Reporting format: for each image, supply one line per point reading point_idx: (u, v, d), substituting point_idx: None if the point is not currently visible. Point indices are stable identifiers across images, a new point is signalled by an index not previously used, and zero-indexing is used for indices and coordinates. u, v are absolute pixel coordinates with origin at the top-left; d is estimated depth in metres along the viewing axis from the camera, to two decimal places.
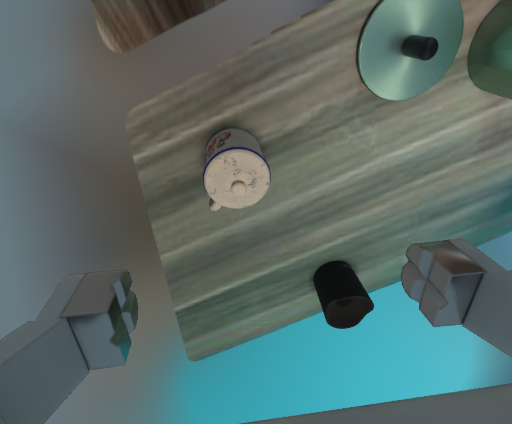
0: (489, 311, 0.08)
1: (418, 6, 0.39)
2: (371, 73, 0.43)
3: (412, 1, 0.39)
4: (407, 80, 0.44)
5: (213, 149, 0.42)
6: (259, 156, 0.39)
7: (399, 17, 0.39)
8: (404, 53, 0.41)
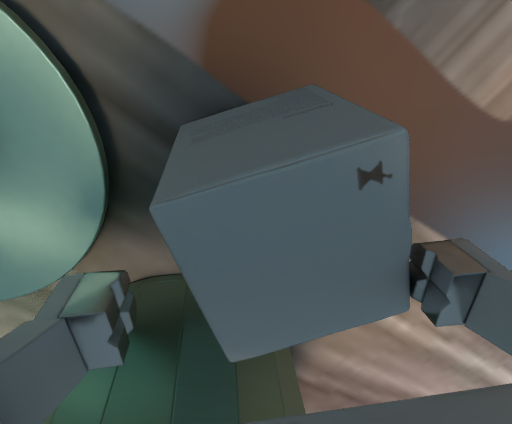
0: (491, 311, 0.08)
1: None
2: None
3: None
4: None
5: None
6: None
7: None
8: None
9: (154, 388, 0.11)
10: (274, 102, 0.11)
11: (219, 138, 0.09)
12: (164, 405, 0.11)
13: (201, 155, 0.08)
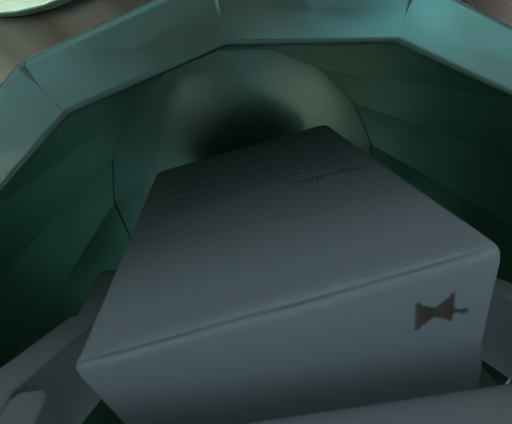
0: None
1: None
2: None
3: None
4: None
5: None
6: None
7: None
8: None
9: None
10: (276, 151, 0.09)
11: (202, 210, 0.07)
12: None
13: (173, 244, 0.06)
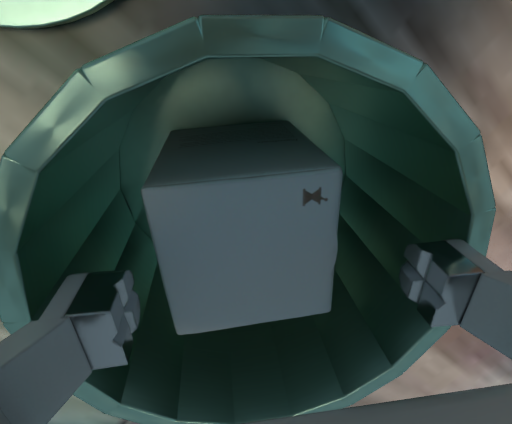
0: (486, 311, 0.08)
1: None
2: None
3: None
4: None
5: None
6: None
7: None
8: None
9: None
10: (253, 128, 0.14)
11: (204, 147, 0.11)
12: None
13: (187, 157, 0.10)
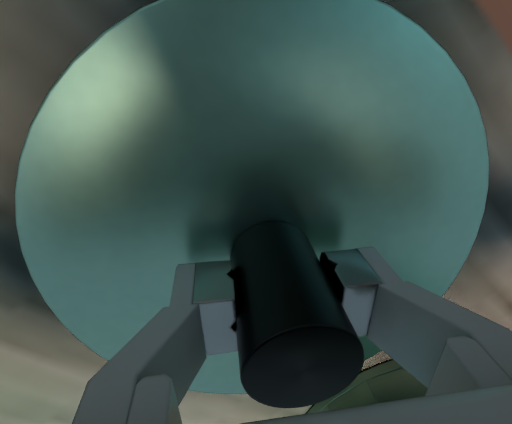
0: (386, 323, 0.07)
1: (395, 175, 0.09)
2: (67, 192, 0.08)
3: (402, 137, 0.08)
4: None
5: None
6: None
7: (329, 132, 0.08)
8: (233, 257, 0.09)
9: None
10: None
11: None
12: None
13: None
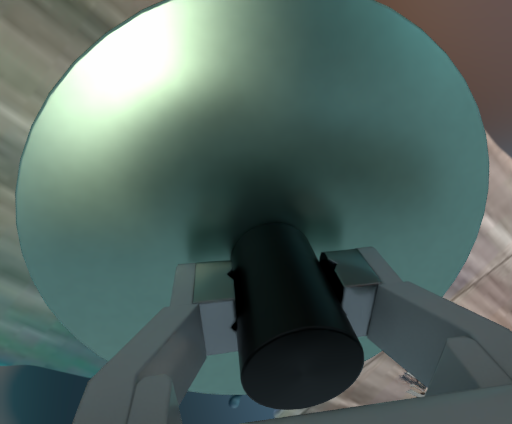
0: (386, 323, 0.07)
1: (395, 177, 0.09)
2: (68, 194, 0.08)
3: (402, 138, 0.08)
4: None
5: None
6: None
7: (329, 134, 0.08)
8: (233, 258, 0.09)
9: None
10: None
11: None
12: None
13: None
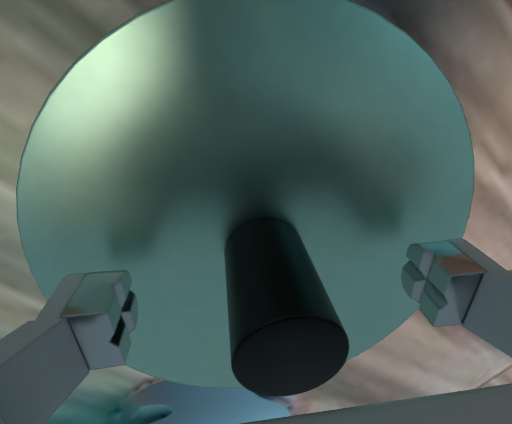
0: (489, 311, 0.08)
1: (383, 175, 0.09)
2: (67, 190, 0.08)
3: (389, 138, 0.09)
4: (170, 325, 0.11)
5: None
6: None
7: (319, 133, 0.08)
8: (226, 253, 0.09)
9: None
10: None
11: None
12: None
13: None
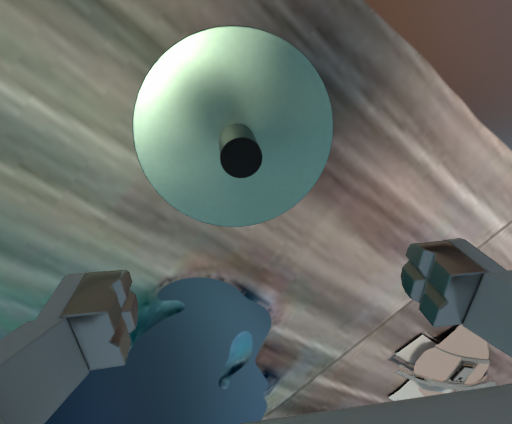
0: (489, 311, 0.08)
1: (288, 103, 0.21)
2: (154, 106, 0.20)
3: (288, 86, 0.21)
4: (193, 181, 0.23)
5: None
6: None
7: (257, 83, 0.20)
8: (219, 138, 0.21)
9: None
10: None
11: None
12: None
13: None
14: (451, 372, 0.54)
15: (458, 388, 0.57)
